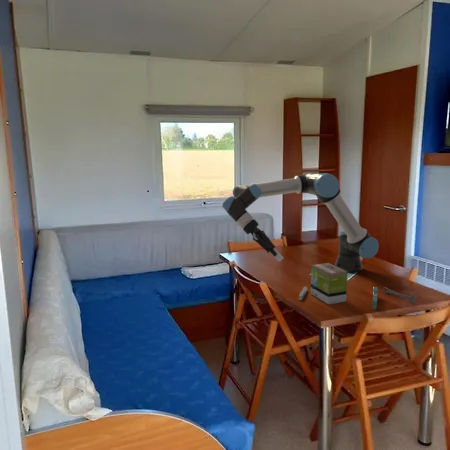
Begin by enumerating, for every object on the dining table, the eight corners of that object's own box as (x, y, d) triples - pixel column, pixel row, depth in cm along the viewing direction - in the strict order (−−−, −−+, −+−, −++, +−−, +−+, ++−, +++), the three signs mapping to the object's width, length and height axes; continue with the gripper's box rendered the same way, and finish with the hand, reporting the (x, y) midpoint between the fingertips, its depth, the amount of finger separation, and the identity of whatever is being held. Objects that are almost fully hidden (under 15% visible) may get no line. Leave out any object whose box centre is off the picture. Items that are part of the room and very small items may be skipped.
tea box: (309, 294, 200) (310, 264, 197) (327, 291, 203) (328, 262, 201) (328, 305, 186) (329, 272, 183) (346, 302, 189) (348, 270, 187)
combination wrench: (382, 285, 202) (416, 297, 184) (384, 285, 202) (418, 297, 184) (381, 293, 202) (416, 305, 184) (383, 292, 203) (418, 305, 185)
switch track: (304, 289, 206) (304, 280, 205) (377, 297, 195) (377, 287, 194) (298, 300, 191) (298, 290, 190) (376, 309, 180) (377, 298, 179)
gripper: (246, 226, 209) (278, 261, 206) (238, 231, 197) (272, 268, 194) (257, 216, 206) (289, 251, 204) (249, 220, 194) (284, 258, 192)
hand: (281, 260), depth 199 cm, fingers closed
